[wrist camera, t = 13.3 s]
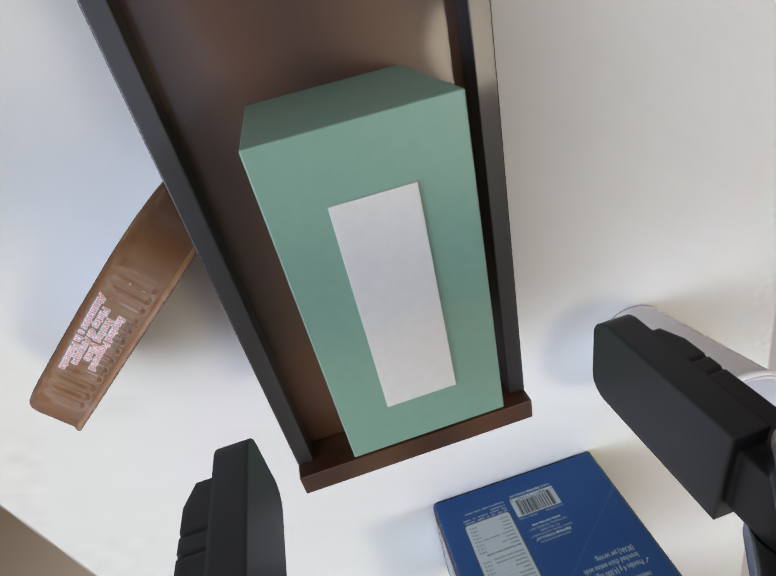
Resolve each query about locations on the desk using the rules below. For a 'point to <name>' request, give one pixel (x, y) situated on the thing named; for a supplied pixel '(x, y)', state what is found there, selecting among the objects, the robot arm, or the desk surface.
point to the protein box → (549, 527)
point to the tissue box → (381, 247)
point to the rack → (237, 199)
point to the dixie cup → (711, 350)
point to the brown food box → (115, 312)
